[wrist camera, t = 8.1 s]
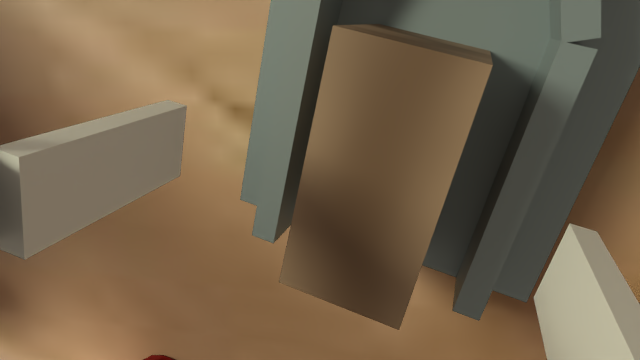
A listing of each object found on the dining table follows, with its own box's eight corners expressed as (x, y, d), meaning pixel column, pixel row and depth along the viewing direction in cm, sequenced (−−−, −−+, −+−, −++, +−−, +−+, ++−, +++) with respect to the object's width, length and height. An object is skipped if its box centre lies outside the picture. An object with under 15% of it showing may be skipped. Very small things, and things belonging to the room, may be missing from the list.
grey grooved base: (249, 192, 27) (124, 284, 18) (338, -351, 18) (172, -771, 8) (524, 289, 24) (551, 470, 14) (815, -328, 14) (1477, -1025, 5)
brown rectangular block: (331, 215, 24) (278, 282, 18) (378, 23, 21) (332, 25, 14) (421, 247, 23) (398, 329, 17) (490, 50, 19) (492, 65, 13)
